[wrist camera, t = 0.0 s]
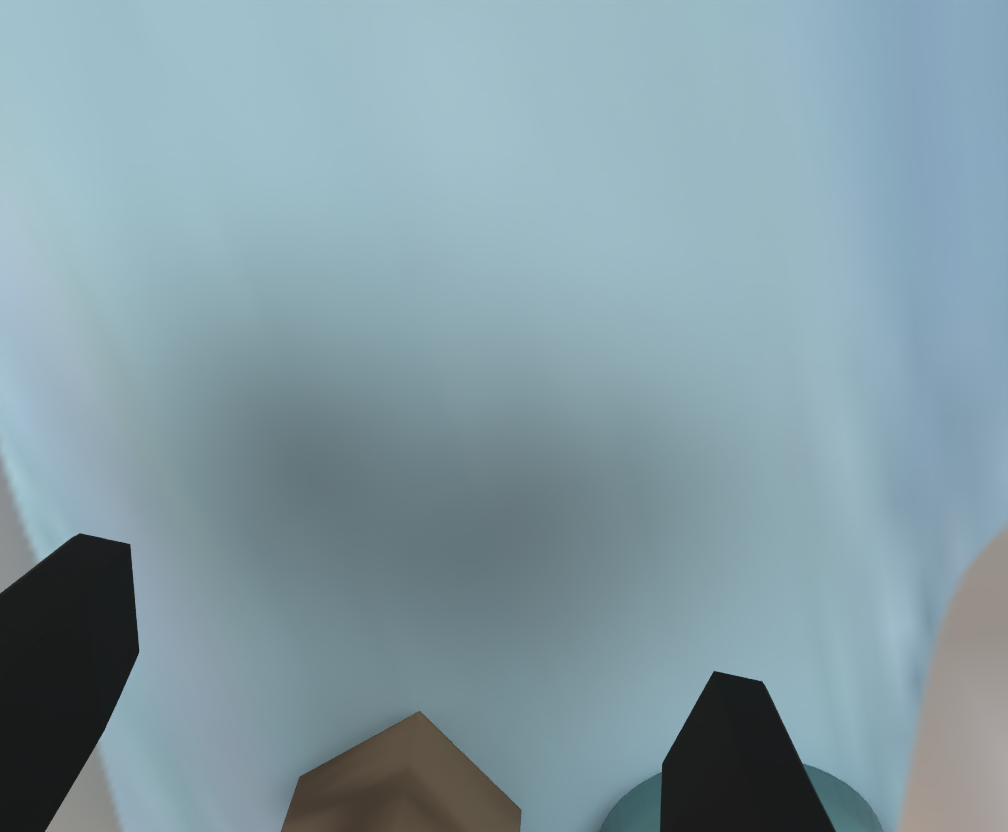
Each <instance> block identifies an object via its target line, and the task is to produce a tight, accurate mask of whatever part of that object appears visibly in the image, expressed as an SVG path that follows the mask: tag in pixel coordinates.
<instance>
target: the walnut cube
mask: <svg viewBox="0 0 1008 832" xmlns="http://www.w3.org/2000/svg"><path fill="white" fill-rule="evenodd" d="M520 825H521V809H520V808H519V807H518V806H517V805H516V804H515V803H514V802H513V801H512V800H511V799H510V798H509V797H508V796H507V795H505V794H504V793H503V792H502V791H501V790H500V789H499V788H498V787H497V786H496V785H495V784H494V783H493V782H492V781H491V780H490V779H489V778H488V777H487V776H486V775H485V774H484V773H483V772H482V771H481V770H480V769H479V768H478V767H477V766H476V765H475V764H474V763H473V762H472V761H471V760H470V759H469V758H468V757H467V756H466V755H464V754H463V753H462V752H461V751H460V750H459V749H458V748H457V747H456V746H455V745H454V744H453V743H452V742H451V741H450V740H449V739H448V738H447V737H446V736H445V735H444V734H443V733H442V732H441V731H440V730H439V729H438V728H437V727H436V726H435V725H434V724H433V723H432V722H431V721H430V720H429V719H428V718H427V717H426V716H424V715H423V714H422V713H421V712H420V711H419V712H417V713H416V714H414V715H412V716H410V717H408V718H406V719H405V720H403V721H401V722H399V723H397V724H395V725H394V726H392V727H390V728H388V729H386V730H385V731H383V732H381V733H379V734H377V735H375V736H374V737H372V738H370V739H368V740H366V741H364V742H363V743H361V744H359V745H357V746H355V747H353V748H352V749H350V750H348V751H346V752H344V753H342V754H341V755H339V756H337V757H335V758H333V759H331V760H330V761H328V762H326V763H324V764H322V765H321V766H319V767H317V768H315V769H313V770H311V771H310V772H308V773H306V774H304V775H302V776H300V777H299V780H298V783H297V786H296V789H295V792H294V795H293V798H292V801H291V803H290V806H289V809H288V812H287V815H286V818H285V821H284V824H283V827H282V830H281V832H520Z"/></svg>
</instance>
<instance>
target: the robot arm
mask: <svg viewBox="0 0 1008 832" xmlns="http://www.w3.org/2000/svg"><path fill="white" fill-rule="evenodd" d="M138 654H139V642H138V630H137V619H136V607H135V595H134V583H133V571H132V560H131V548H130V544H127V543H122V542H117V541H113V540H108V539H104V538H99V537H94V536H90V535H85V534H81V533H80V534H78V535H76V536H74V537H72V538H71V539H70V540H68V541H67V542H66V543H64V544H63V545H62V546H61V547H59V548H58V549H57V550H55V551H54V552H53V553H52V554H50V555H49V556H48V557H46V558H45V559H44V560H43V561H41V562H40V563H39V564H38V565H36V566H35V567H34V568H32V569H31V570H30V571H29V572H27V573H26V574H25V575H24V576H22V577H21V578H20V579H18V580H17V581H16V582H14V583H13V584H12V585H11V586H9V587H8V588H7V589H5V590H4V591H3V592H2V593H0V832H45V830H46V829H47V827H48V825H49V824H50V822H51V820H52V819H53V817H54V815H55V814H56V812H57V810H58V809H59V807H60V805H61V804H62V802H63V800H64V798H65V797H66V795H67V793H68V792H69V790H70V788H71V787H72V785H73V783H74V782H75V780H76V778H77V777H78V775H79V773H80V771H81V770H82V768H83V766H84V765H85V763H86V761H87V760H88V758H89V756H90V754H91V753H92V751H93V749H94V748H95V746H96V744H97V742H98V741H99V739H100V737H101V735H102V734H103V732H104V730H105V728H106V725H107V723H108V721H109V719H110V717H111V715H112V713H113V710H114V708H115V706H116V704H117V702H118V700H119V697H120V695H121V693H122V691H123V688H124V686H125V684H126V681H127V679H128V677H129V675H130V672H131V670H132V668H133V665H134V663H135V661H136V659H137V656H138ZM660 832H836V830H835V828H834V826H833V824H832V822H831V820H830V818H829V816H828V814H827V812H826V810H825V808H824V806H823V804H822V802H821V800H820V798H819V796H818V794H817V792H816V790H815V788H814V786H813V784H812V782H811V780H810V778H809V776H808V774H807V772H806V770H805V768H804V766H803V764H802V762H801V760H800V758H799V756H798V753H797V751H796V749H795V747H794V745H793V743H792V741H791V739H790V737H789V735H788V732H787V730H786V728H785V726H784V724H783V722H782V720H781V718H780V716H779V713H778V711H777V709H776V707H775V705H774V703H773V701H772V699H771V697H770V694H769V692H768V690H767V688H766V687H765V685H764V684H763V682H762V681H758V680H753V679H748V678H744V677H739V676H735V675H730V674H725V673H721V672H716V671H714V672H713V674H712V675H711V677H710V679H709V681H708V683H707V684H706V686H705V688H704V690H703V692H702V693H701V695H700V697H699V699H698V701H697V702H696V704H695V706H694V708H693V709H692V711H691V713H690V715H689V717H688V718H687V720H686V722H685V724H684V726H683V727H682V729H681V731H680V733H679V735H678V736H677V738H676V740H675V742H674V744H673V745H672V747H671V749H670V751H669V752H668V754H667V756H666V758H665V760H664V761H663V763H662V784H661V808H660Z"/></svg>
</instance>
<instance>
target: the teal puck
mask: <svg viewBox="0 0 1008 832" xmlns="http://www.w3.org/2000/svg"><path fill="white" fill-rule="evenodd" d="M803 766H804V768H805V770H806V772H807V774H808V776H809V778H810V780H811V782H812V784H813V786H814V788H815V790H816V792H817V794H818V796H819V798H820V800H821V802H822V804H823V806H824V808H825V810H826V812H827V814H828V816H829V818H830V820H831V822H832V824H833V826H834V828H835V830H836V832H883V830H882V827H881V825H880V823H879V820H878V818H877V816H876V814H875V813H874V811H873V810H872V808H871V807H870V805H869V804H868V803H867V802H866V801H865V800H864V799H863V798H862V797H861V795H860V794H859V793H857V792H856V791H855V790H854V789H852V788H851V787H850V786H849V785H847V784H846V783H844V782H843V781H841V780H839V779H838V778H836V777H834V776H833V775H831V774H829V773H826V772H824V771H822V770H819V769H817V768H815V767H812V766H809V765H806V764H803ZM661 784H662V772H661V773H659V774H657V775H655V776H653V777H651V778H650V779H648V780H646V781H644V782H643V783H641V784H640V785H638V786H637V787H635V788H634V789H632V790H631V791H630V792H629V793H628V794H627V795H625V796H624V797H623V798H622V799H621V800H620V801H619V802H618V803H617V804H616V806H615V807H614V808H613V809H612V810H611V812H610V813H609V815H608V816H607V818H606V820H605V821H604V823H603V825H602V828H601V830H600V832H660V808H661Z"/></svg>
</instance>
